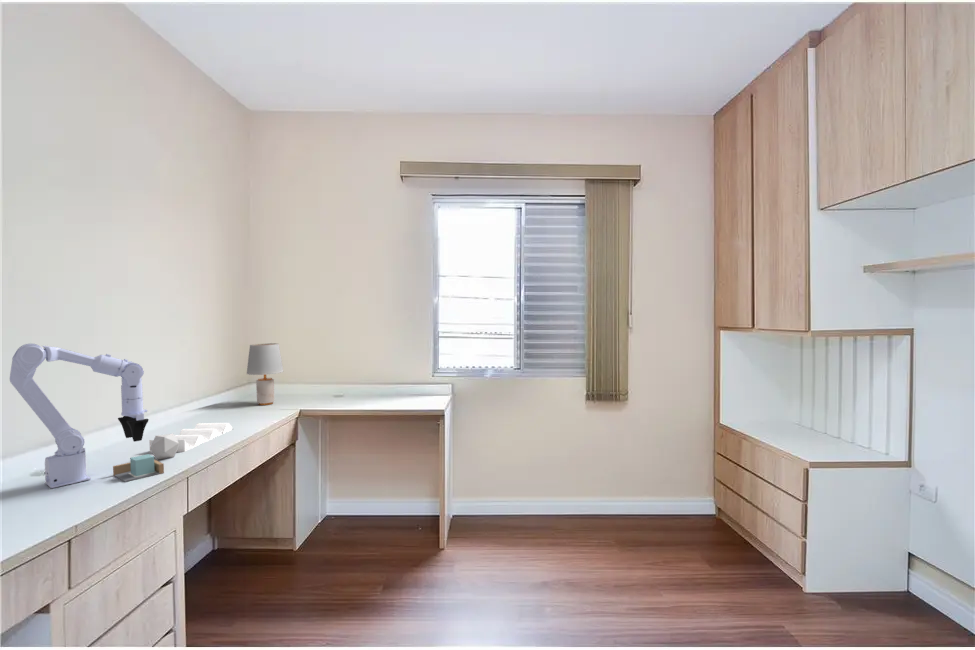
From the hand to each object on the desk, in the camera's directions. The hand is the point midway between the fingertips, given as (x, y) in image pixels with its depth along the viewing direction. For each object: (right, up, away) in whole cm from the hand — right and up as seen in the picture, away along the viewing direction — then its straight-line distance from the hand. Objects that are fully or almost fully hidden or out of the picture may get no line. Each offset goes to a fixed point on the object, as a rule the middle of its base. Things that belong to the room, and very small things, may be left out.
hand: (133, 439), depth 162 cm
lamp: (-8, -7, +115) cm, 115 cm away
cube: (+7, -10, -6) cm, 13 cm away
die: (+2, -10, +13) cm, 16 cm away
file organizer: (-2, -10, +37) cm, 39 cm away
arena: (+6, -10, -6) cm, 13 cm away
